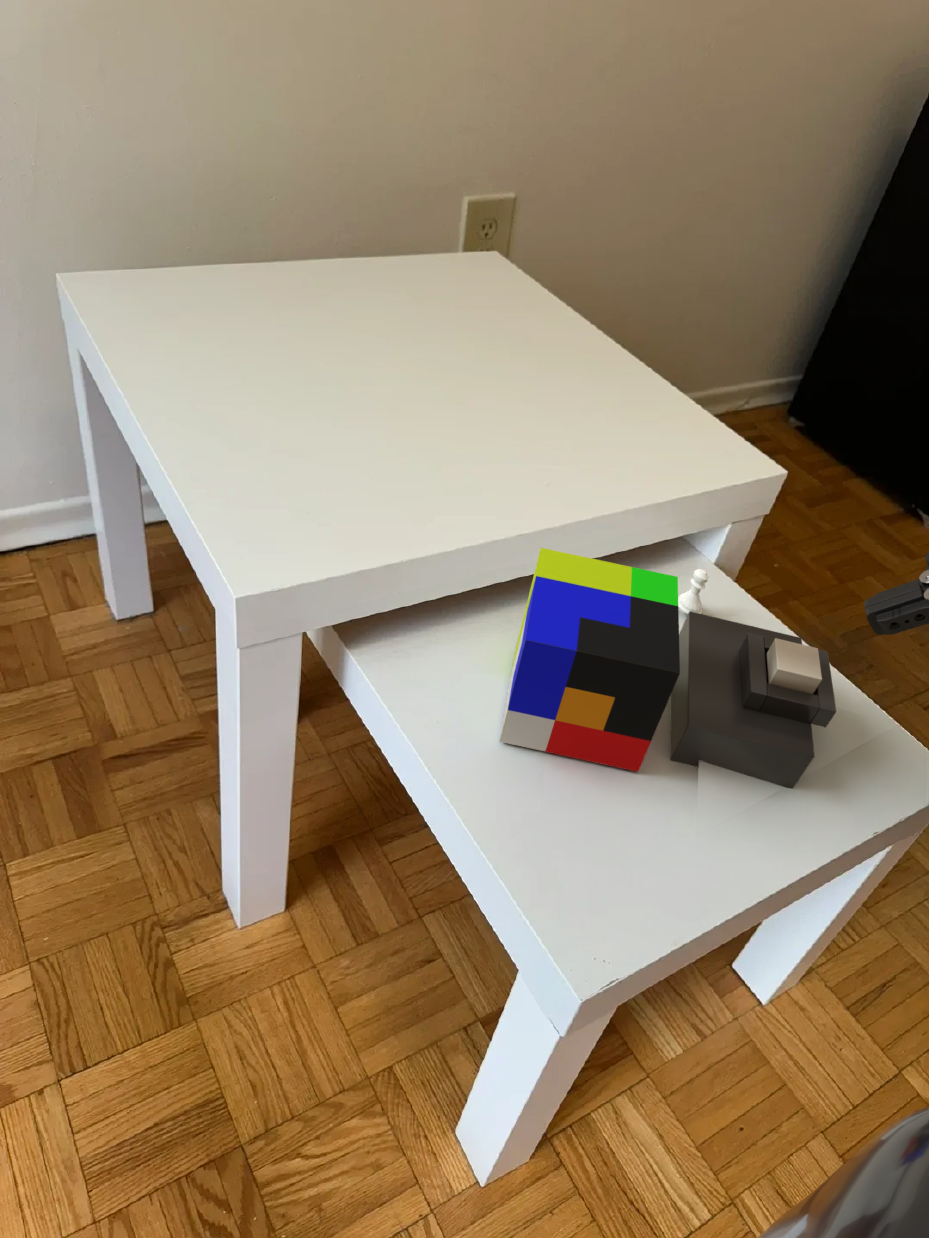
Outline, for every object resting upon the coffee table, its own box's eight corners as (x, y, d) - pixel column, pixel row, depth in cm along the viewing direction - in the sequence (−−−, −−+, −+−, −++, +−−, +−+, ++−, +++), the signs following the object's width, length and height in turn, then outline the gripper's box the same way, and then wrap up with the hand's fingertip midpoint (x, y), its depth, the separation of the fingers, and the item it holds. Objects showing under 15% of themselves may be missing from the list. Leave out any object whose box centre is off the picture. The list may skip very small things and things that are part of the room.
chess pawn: (706, 613, 80) (722, 578, 77) (689, 619, 79) (704, 583, 76) (687, 595, 81) (701, 559, 78) (670, 600, 80) (683, 564, 78)
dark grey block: (805, 795, 67) (841, 744, 63) (669, 761, 67) (696, 709, 63) (793, 676, 76) (824, 624, 72) (673, 647, 76) (696, 594, 72)
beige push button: (812, 695, 66) (822, 679, 65) (768, 685, 67) (777, 668, 65) (808, 664, 69) (818, 648, 68) (766, 653, 69) (775, 637, 68)
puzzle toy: (499, 741, 66) (525, 639, 59) (515, 647, 73) (540, 547, 67) (638, 771, 66) (680, 673, 59) (640, 674, 73) (677, 576, 67)
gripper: (1119, 412, 57) (837, 521, 66) (1202, 544, 48) (859, 651, 56) (1148, 501, 61) (876, 592, 69) (1231, 640, 51) (904, 726, 60)
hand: (869, 618), depth 63 cm, fingers closed
